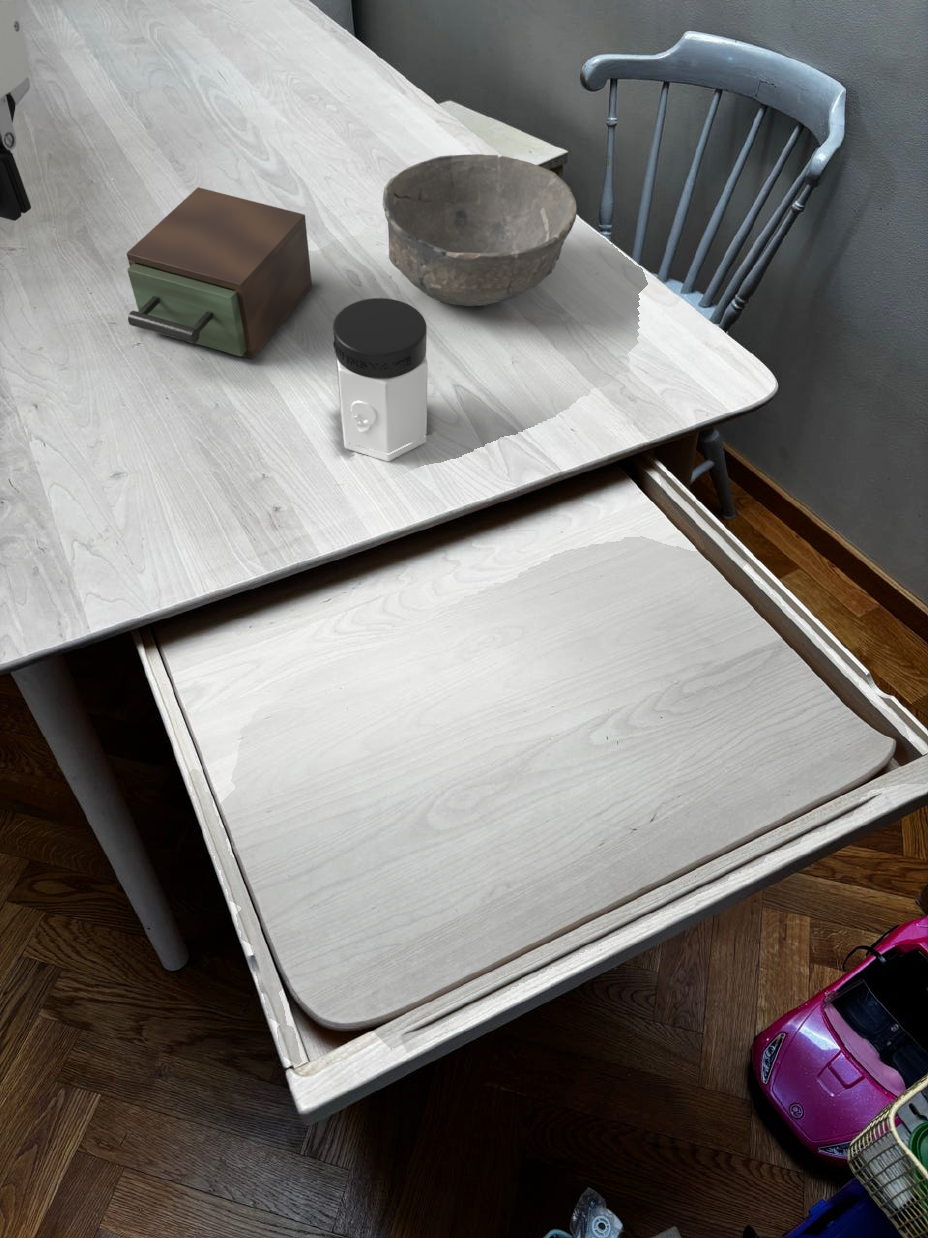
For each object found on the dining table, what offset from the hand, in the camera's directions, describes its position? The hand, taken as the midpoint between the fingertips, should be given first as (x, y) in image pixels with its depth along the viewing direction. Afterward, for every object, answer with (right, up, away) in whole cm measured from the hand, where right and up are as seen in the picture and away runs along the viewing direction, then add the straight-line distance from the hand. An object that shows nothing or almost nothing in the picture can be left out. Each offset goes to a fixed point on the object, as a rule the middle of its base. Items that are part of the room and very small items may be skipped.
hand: (5, 210), depth 63 cm
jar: (+24, -10, +25) cm, 36 cm away
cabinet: (+7, +6, +36) cm, 37 cm away
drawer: (+5, +3, +33) cm, 33 cm away
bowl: (+33, +10, +40) cm, 53 cm away
